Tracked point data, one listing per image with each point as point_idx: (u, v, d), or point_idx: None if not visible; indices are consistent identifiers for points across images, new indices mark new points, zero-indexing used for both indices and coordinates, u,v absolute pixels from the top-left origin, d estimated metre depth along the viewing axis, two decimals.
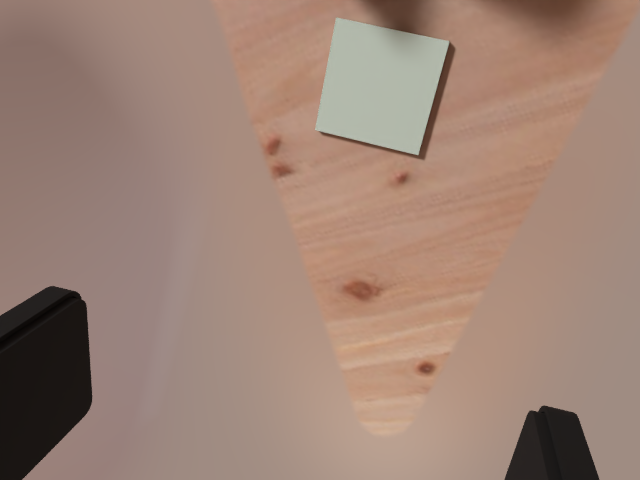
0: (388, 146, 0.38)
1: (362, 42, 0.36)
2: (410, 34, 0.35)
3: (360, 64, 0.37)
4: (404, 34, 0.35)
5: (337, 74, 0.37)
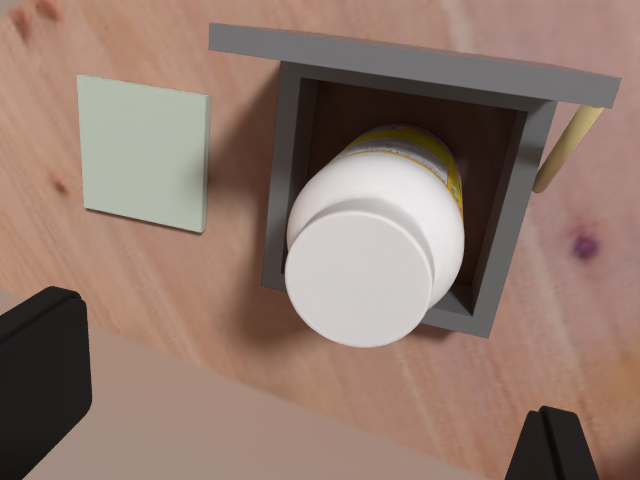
0: (83, 172, 0.31)
1: (184, 133, 0.29)
2: (201, 189, 0.30)
3: (161, 131, 0.29)
4: (200, 183, 0.30)
5: (144, 102, 0.29)
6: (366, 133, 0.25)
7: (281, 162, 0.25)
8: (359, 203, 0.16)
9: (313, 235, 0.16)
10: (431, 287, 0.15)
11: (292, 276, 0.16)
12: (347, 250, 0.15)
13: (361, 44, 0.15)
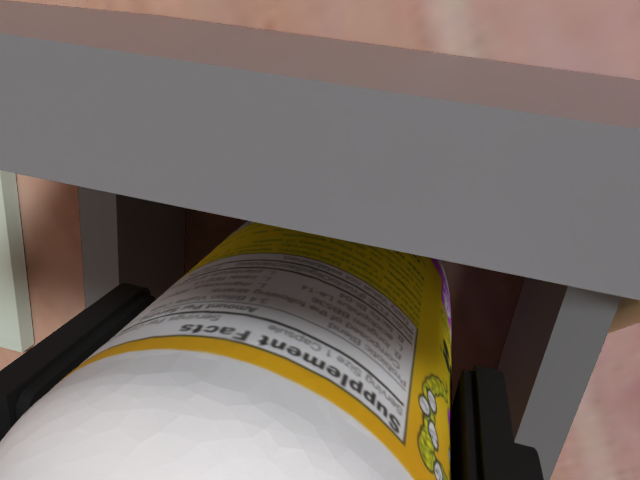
0: None
1: None
2: (12, 286, 0.18)
3: None
4: (9, 276, 0.17)
5: None
6: None
7: (99, 270, 0.13)
8: None
9: None
10: None
11: None
12: None
13: None
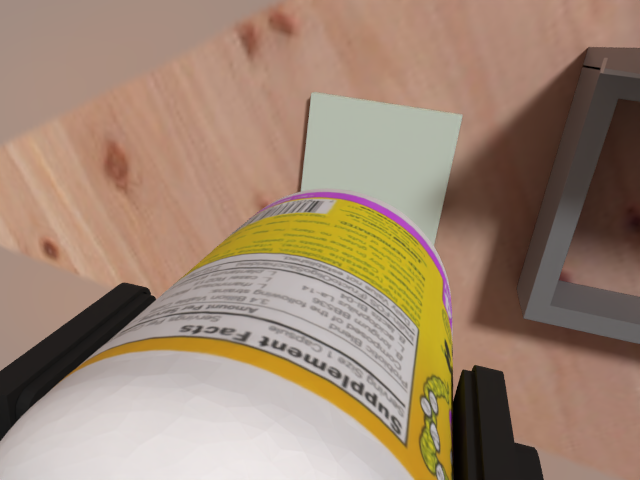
0: None
1: (429, 154, 0.27)
2: (439, 213, 0.28)
3: (401, 152, 0.27)
4: (439, 206, 0.28)
5: (387, 121, 0.27)
6: (263, 214, 0.12)
7: (575, 189, 0.23)
8: None
9: None
10: None
11: None
12: None
13: None
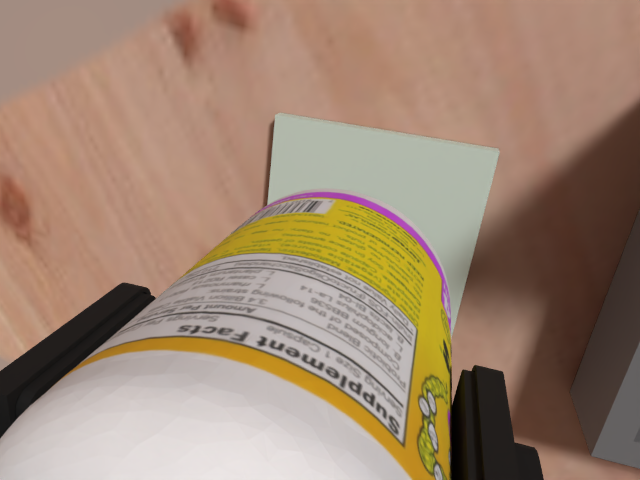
0: None
1: (449, 206, 0.18)
2: (461, 289, 0.19)
3: (407, 203, 0.19)
4: (461, 279, 0.19)
5: (386, 157, 0.18)
6: (262, 214, 0.12)
7: None
8: None
9: None
10: None
11: None
12: None
13: None
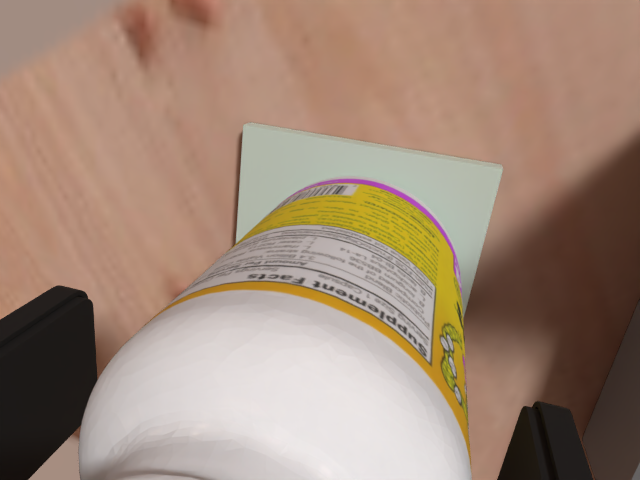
0: None
1: None
2: None
3: None
4: None
5: (372, 175, 0.16)
6: (294, 198, 0.14)
7: None
8: None
9: None
10: None
11: None
12: None
13: None
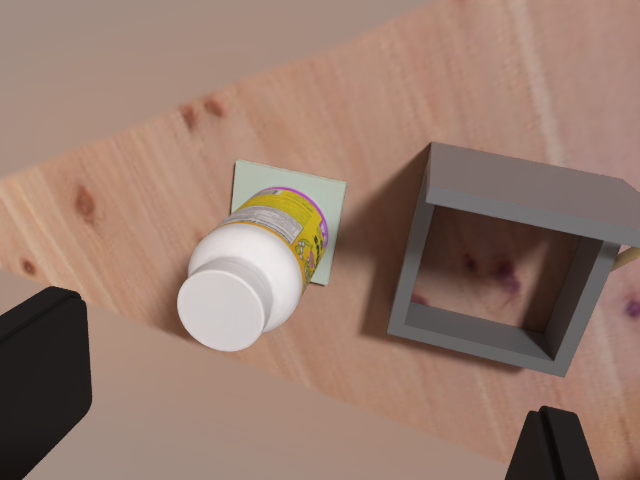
0: None
1: (323, 210, 0.36)
2: (331, 253, 0.37)
3: None
4: (331, 248, 0.37)
5: (292, 185, 0.36)
6: (257, 195, 0.34)
7: (416, 244, 0.33)
8: (222, 263, 0.26)
9: (192, 283, 0.25)
10: (263, 315, 0.25)
11: (181, 307, 0.26)
12: (212, 293, 0.25)
13: (536, 209, 0.23)
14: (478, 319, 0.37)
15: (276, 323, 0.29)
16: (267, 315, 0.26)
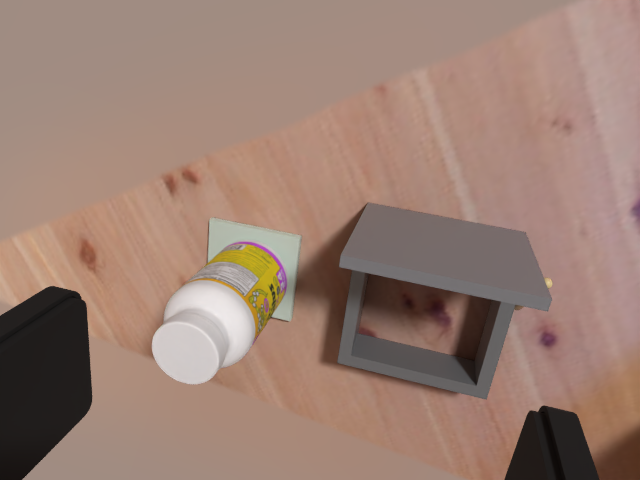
0: None
1: (283, 259, 0.43)
2: (292, 294, 0.44)
3: None
4: (292, 290, 0.44)
5: (256, 238, 0.43)
6: (225, 249, 0.41)
7: (355, 289, 0.39)
8: (185, 315, 0.33)
9: (162, 331, 0.32)
10: (218, 356, 0.32)
11: (155, 350, 0.33)
12: (178, 339, 0.32)
13: (422, 272, 0.30)
14: (418, 349, 0.44)
15: (234, 360, 0.35)
16: (222, 355, 0.33)
